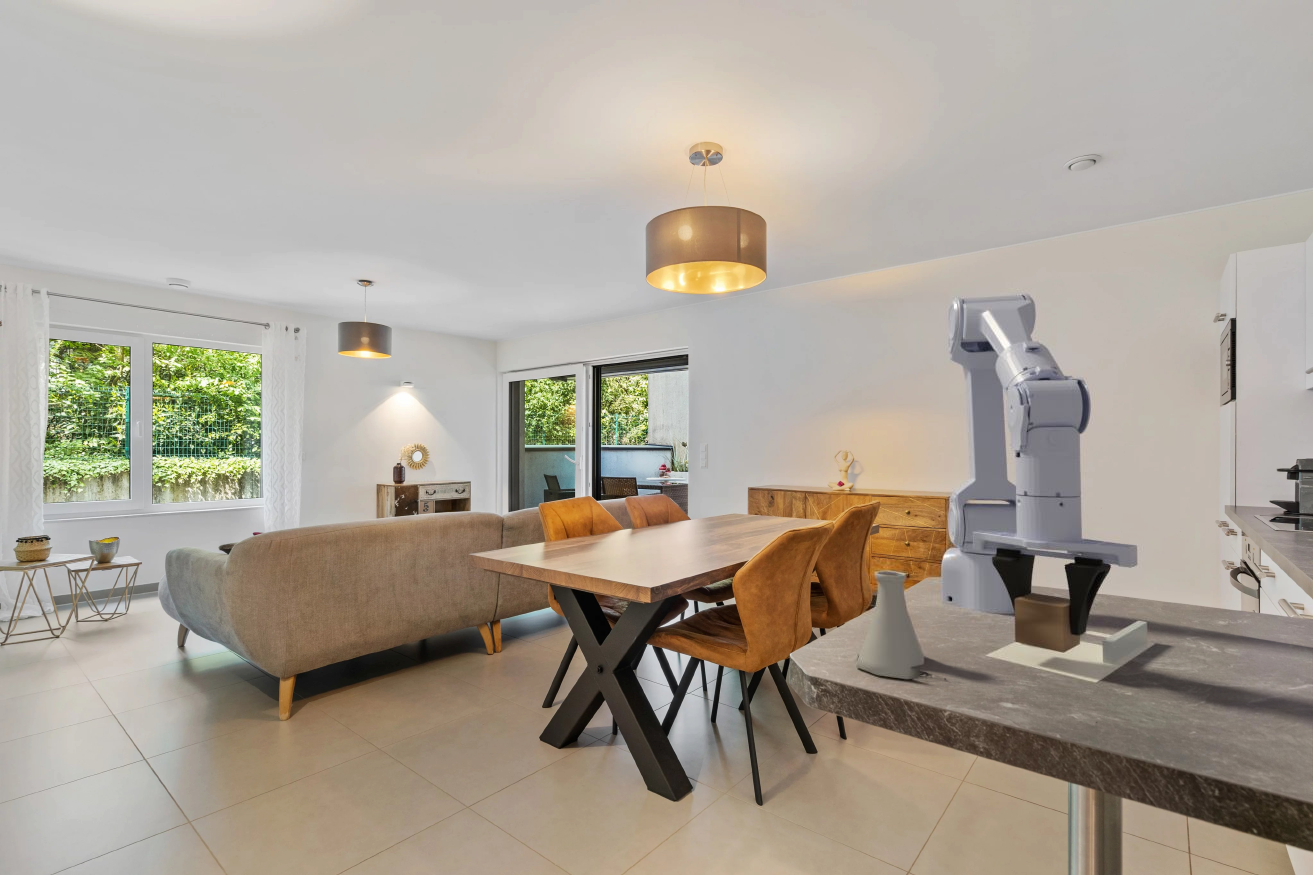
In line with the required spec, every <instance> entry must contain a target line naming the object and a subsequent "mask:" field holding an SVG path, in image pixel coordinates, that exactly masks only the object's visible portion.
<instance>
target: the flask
mask: <svg viewBox="0 0 1313 875" xmlns="http://www.w3.org/2000/svg"><path fill="white" fill-rule="evenodd" d="M874 572H875V573H874V579H875V580H877V595H876V601H875V602H876V603H875V607H874V612H873V615H872V619H871V621H870V625H869V627H868V631H867V634H866V636H865V639H864V642H863V645H862V648H861V651H860V654H859V656H858V659H857V662H856V665H855V667H856V668H857V669H858V668H859V669H861V670H863V671H865V672H869V673H871V674H872V675H873V674H874V675H877V676H881V677H882V676H883V677H889V678H897V679H901V680H902V679H904V680H910V679H914V678H917V677H923V676H925V675H928V672H927V671H925V670H921V669H917V668H915V667H918V666H923V665H924V664H925V655H924V654H925V653H924V652H923V649H922V647H921V644H920V642H919V640H918V637H917V633H916V631H915V628H914V625H913V623H912V620H911V617H910V614H909V610H908V606H907V603H906V598H905V596H906V595H905V584H904V582H905V581H906V579H907V573H905V572H902V571H895V570H879V571H874ZM913 667H914V668H913Z"/></svg>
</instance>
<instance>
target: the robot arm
mask: <svg viewBox="0 0 1313 875" xmlns="http://www.w3.org/2000/svg"><path fill="white" fill-rule="evenodd" d="M1036 316H1037V312H1036V304H1035V300H1034V299H1033V297H1031V295H1029V293H1020V294H1019V295H1017V294H1016V295H1014V294H1013V295H1001V296H998V295H997V296H984V297H983V296H981V297H968V298H967V297H964V298H962V297H955V298H954V299H953V300H952V302H951V303H950V305H949V308H948V314H947V340H948V341H947V342H948V343H947V344H948V345H947V346H948V353H949V356H950V360H951V361H952V362H954V363H957V364H958V365H961V366H962V371H963V375H964V380H965V396H966V397H965V398H966V413H967V414H966V415H967V416H966V417H967V437H968V438H967V439H968V461H969V462H968V463H969V479H968V480H967V481H966V482H965V483H963V484H962V485H960V486H958V487H957V488H956V489H954V490H953V491H952V492H951V495H950V496H949V506H948V507H949V509H948V515H947V527H948V528H947V529H948V535H949V540H950V542H951V543H952V544H953V546H955V547H950V548H948V549H946V551H945V552H944V554H943V557H942V561H941V564H940V565H941V566H940V567H941V569H940V574H941V577H940V578H941V581H940V584H941V585H940V586H941V604H943V605H944V604H945V605H948V606H949V605H950V606H954V607H955V606H956V607H959V608H964V609H968V610H972V611H976V612H980V613H988V614H996V615H997V614H999V615H1009V614H1011V615H1012V614H1015V599H1016V598H1019V597H1022V596H1024V595H1027V594H1030V593H1032V582H1033V574H1034V566H1035V565H1034V564H1035V559H1036V556H1037V557H1038V556H1039V557H1047V558H1054V559H1062V560H1063V559H1064V560H1072V561H1074V562H1070V563H1066V564H1064V571H1065V574H1066V581H1067V586H1068V593H1069V594H1068V595H1069V599H1070V630H1071V634H1073V635H1080V636H1081V635H1084V634H1085V632H1086V630H1087V625H1088V622H1089V621H1088V619H1089V616H1090V613H1091V610H1092V607H1093V603H1094V601H1095V598H1096V596H1097V594H1098V592H1099V590H1100V588H1101V586H1102V584H1103V582H1104V581H1105V579H1106V578H1107V576H1108V575H1109V572H1110V570H1111V568H1112V565H1116V566H1118V567H1121V568H1135V567H1137V566H1138V545H1135V544H1129V543H1128V544H1125V543H1118V542H1111V541H1104V540H1096V539H1091V538H1083V534H1082V530H1083V529H1082V525H1083V523H1082V521H1083V520H1082V484H1081V483H1082V480H1081V477H1082V476H1081V475H1082V474H1081V434H1083V433H1084V432H1085V431H1086V430H1087V428H1088V425H1089V424H1090V422H1089V421H1090V419H1091V412H1092V411H1091V408H1092V407H1091V406H1092V405H1091V403H1092V402H1091V395H1090V391H1089V388H1088V386H1087V384H1086V382H1085V380H1084V379H1083V378H1082V377H1078V376H1077V377H1074V376H1072V375H1064V373H1063V371H1062V370H1061V368H1060V367H1059V365H1058V363H1057V361H1056V360H1055V358H1054V357H1053V355H1052V352H1050V351H1051V350H1049V349H1048V347H1047V346H1046V345H1044V344H1042V343H1040V342H1039V341H1037V340H1036V341H1033V337H1032V336H1031V335H1032V333H1033V332H1034V329H1035V325H1036ZM1004 393H1005V395H1006V405H1005V404H1004V403H1005V402H1004ZM1005 406H1006V408H1005ZM1005 409H1006V421H1005ZM1005 422H1007V426H1008V430H1009V436H1010V447H1011V448H1010V449H1011V451H1013V452H1015V456H1014V458H1015V484H1014V483H1013V482H1011V481H1010V480H1009V479H1008V465H1007V464H1008V462H1007V460H1008V459H1007V444H1006V443H1007V441H1006V426H1005V425H1006V423H1005ZM969 501H995V502H996V501H999V502H1006V503H980V502H979V503H976V502H975V503H974V502H973V503H972V502H969ZM967 502H968V503H967ZM1060 551H1062V552H1060Z"/></svg>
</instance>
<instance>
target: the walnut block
mask: <svg viewBox="0 0 1313 875" xmlns="http://www.w3.org/2000/svg"><path fill="white" fill-rule="evenodd" d="M1014 637H1015V638H1014V642H1018V643H1022V644H1027V645H1031V646H1036V647H1040V648H1044V649H1049V650H1053V651H1058V652H1062V653H1064V652H1066V651H1068V650H1070V649H1072V648H1073V647H1075V646H1077V645H1079V644H1080V641H1081V635H1073V634H1071V630H1070V598H1067V597H1061V596H1060V597H1059V596H1055V595H1054V596H1053V595H1048V594H1042V593H1035V592H1031V593H1030V594H1027V595H1024V596H1022V597H1019V598H1016V599H1015V613H1014Z"/></svg>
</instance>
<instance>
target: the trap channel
mask: <svg viewBox="0 0 1313 875" xmlns="http://www.w3.org/2000/svg"><path fill="white" fill-rule="evenodd" d="M1084 634H1086V635H1091V636H1096V637H1101V638H1105V639H1103V640H1102V644H1101V645H1100V644H1097V643H1096V644H1095V643H1092V642H1087V641H1082V640H1080V644H1079V645H1077V646H1075V647H1073V648H1072V649H1070V650H1068V651H1066V652H1064V653H1062V652H1058V651H1053V650H1049V649H1044V648H1040V647H1036V646H1031V645H1027V644H1022V643H1018V642H1015V641H1014V642H1012V643H1010V644H1007V645H1006V646H1003V647H1000V648H998V649H997V650H994V651H992V652H989V653H988V654H985V657H989V658H993V659H997V660H1001V661H1004V662H1009V663H1012V664H1013V663H1014V664H1016V665H1021V666H1026V667H1029V668H1034V669H1038V670H1042V671H1046V672H1049V673H1054V674H1058V675H1061V676H1062V675H1063V676H1067V677H1070V678H1074V679H1075V678H1076V679H1080V680H1083V681H1088V682H1091V683H1095V684H1096V683H1099V682H1100V681H1102V680H1103V679H1105V678H1106V677H1108V676H1109V675H1111V674H1112V673H1113V672H1115V671H1116V670H1119V668H1122V667H1123V666H1125V665H1126V664H1127V663H1129V662H1130V661H1131V660H1133V659H1134V658H1137V657H1138V656H1139V655H1140V654H1142V653H1143V652H1145V651H1147V650H1148V649H1150V648H1151V647H1152V646H1154V645H1156V643H1154V642H1150V641H1148V622H1147V621H1143V620H1137V621H1135V622H1133V623H1132V624H1130V625H1128V626H1127V627H1124V628H1122V629H1121V630H1119V631H1117V632H1115V633H1113V634H1107V633H1103V632H1098V631H1093V630H1087V629H1086V632H1085V633H1084Z"/></svg>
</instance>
